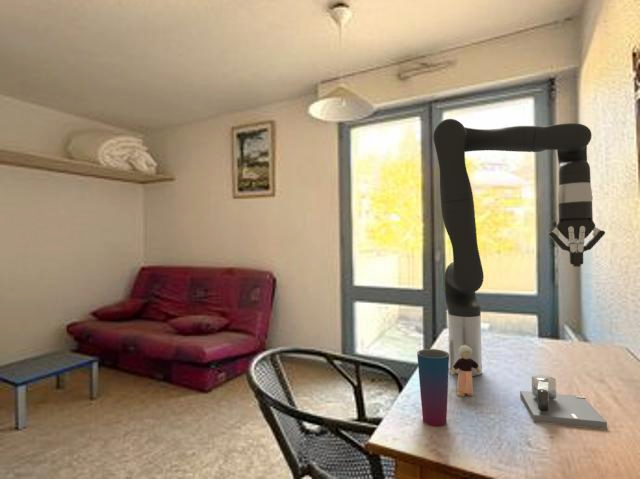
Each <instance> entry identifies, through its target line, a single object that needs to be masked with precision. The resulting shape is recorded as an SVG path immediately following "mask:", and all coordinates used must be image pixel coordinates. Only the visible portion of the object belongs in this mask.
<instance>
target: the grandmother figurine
mask: <svg viewBox="0 0 640 479" xmlns="http://www.w3.org/2000/svg"><path fill="white" fill-rule="evenodd" d="M472 352H473V351H472V349H471V348H470V347H469V346H466V345H463V346H461V347H460V348H459V354H460V355H461V357H462V358H461V359H458V360H457V362H456V363H455V364H454V366H453V368H452V371H451V373H450V375H452V376H455V372H456V370H457V369H459V374H457V375H458V376H457V391H456V396H458V397H465V396H469V397H474V396H475V393H474V392H473V390H474V389H473V376H472V368H475V369H476V372H477V373H480V369H479V367H478V364H477V363H476V362H475V361H474V360H472V359H469V358H470V357H471V354H472Z"/></svg>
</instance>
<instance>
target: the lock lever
mask: <svg viewBox="0 0 640 479" xmlns="http://www.w3.org/2000/svg"><path fill="white" fill-rule="evenodd" d="M531 392H532V395H534V396H535V397H538V409H539V410H541V411H548V410H549V400H552V399H556V394H557V380H556V378H554V377H553V376H549V375H545V374H533V375H531Z"/></svg>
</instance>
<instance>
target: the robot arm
mask: <svg viewBox="0 0 640 479" xmlns="http://www.w3.org/2000/svg"><path fill="white" fill-rule="evenodd" d="M592 136H593V135H592V131H591V129H590V128H589V127H588V126H586V125H584V124H582V123H576V122H574V123H573V122H572V123H571V122H570V123H569V122H568V123H559V124H551V125H544V126H543V125H511V126H504V127H503V126H502V127H499V128H498V127H497V128H487V129H486V128H484V129H481V128H480V129H479V128H472V127H466V126H464V125H463V123H462V122H460V121H459V120H457V119H455V118H446V119H443V120H442V121H440V122H439V123H438V124H437V125H436V127H435V129H434V131H433V136H432V138H433V142H434V147H435V152H436V156H437V162H438V167H439V194H440V195H439V196H440V207H441V216H442V220H443V224H444V227H445V231H446V233H447V235H448V238H449V241H450V244H451V248H452V260H453V261H452V262H451V263H450V264H449V265H447V267H446V269H445V272H444V292H445V294H444V295H445V304H446V306H447V318H448V321H447V324H448V353H449V373H450V374H451V371H452V368H453V366H454V364H455V363H456V362H457V360H458V359H461V358H462V357H461V355H460V354H459V348H460V347H461V346H463V345H466V346H469V347H470V348H471V349H472V351H473V352H472V354H471V357H470V358H469V359H472V360H474V361H475V362H476V363H477V364H478V367H479V369H480V373H477V372H476V369H475V368H472V377H473V376H474V377H475V376H480V375H481V374H482V373H483V361H482V360H483V357H482V355H483V352H482V320H481V319H482V316H481V314H482V313H481V311H482V310H481V306H480V304H479V302H478V300H477V296H476V292H477V291H479V290H480V289H481V288H482V286H483V283H484V269H483V264H482V261H481V256H480V252H479V245H478V238H477V224H476V214H475V213H476V212H475V211H476V210H475V202H474V195H473V189H472V186H471V181H470V177H469V173H468V171H467V167H466V158H465V157H466V153H468V152H479V151H498V152H499V151H500V152H501V151H503V152H518V153H519V152H522V153H524V152H525V153H538V152H539V153H540V152H544V151H550V150H551V151H555V150H556V152H557V160H558V165H559V166H558V193H557V194H558V195H557V201H558V202H557V203H558V205H557V206H558V222H557V224H556V228H555V229H553V230H552V231H550V232H548V236H549V237H550V238H551V239H552V240H553V242H555V243H556V245H557V246H558V247H559V248H560V249H561V250H563V251H567V252H568V253H569V263H570V265H572V267H573V268H574V267H576V268H577V267H579V268H580V267H581V265H583V264H584V253H585V252H587V251H590V250H592V249H593V248H594V246H595V245H597V243H598V242H599V241H600V240H601V239H602V238H603V237H604V236H605V235H606V231H604V230H601V229H600V228H598V227H596V223H595V222H594V220H593V219H594V217H593V213H594V212H593V189H592V185H591V167H590V163H588V152H587V150H588V146H589V144H590V142H591V140H592ZM592 231H593V232H592ZM591 233H592V237H591V239H590V240H589V241H588V242H587V243H586V244H585V239H586V238H587V237H588V236H590V234H591ZM560 235H562V236H563V237H564V238H565V239H567V243H568V245H566V244H565V243H564V242H563V240H561V239H560ZM455 374H456V375H459V369H457V370H456V372H455ZM455 374H454V375H455Z"/></svg>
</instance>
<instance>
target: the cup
mask: <svg viewBox="0 0 640 479" xmlns="http://www.w3.org/2000/svg"><path fill="white" fill-rule="evenodd" d="M416 355H417V356H416V357H417V368H418V377H419V379H418V380H419V381H418V382H419V390H420V391H419V392H420V402H421V414H422V421H423V423H424V424H426V425H427V426H431V427H444V426H445V425H446V424H447V417H448V416H447V415H448V395H449V394H448V391H449V372H450V370H449V351H445V350H442V349H436V348H425V349H419V350H417V352H416Z"/></svg>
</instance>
